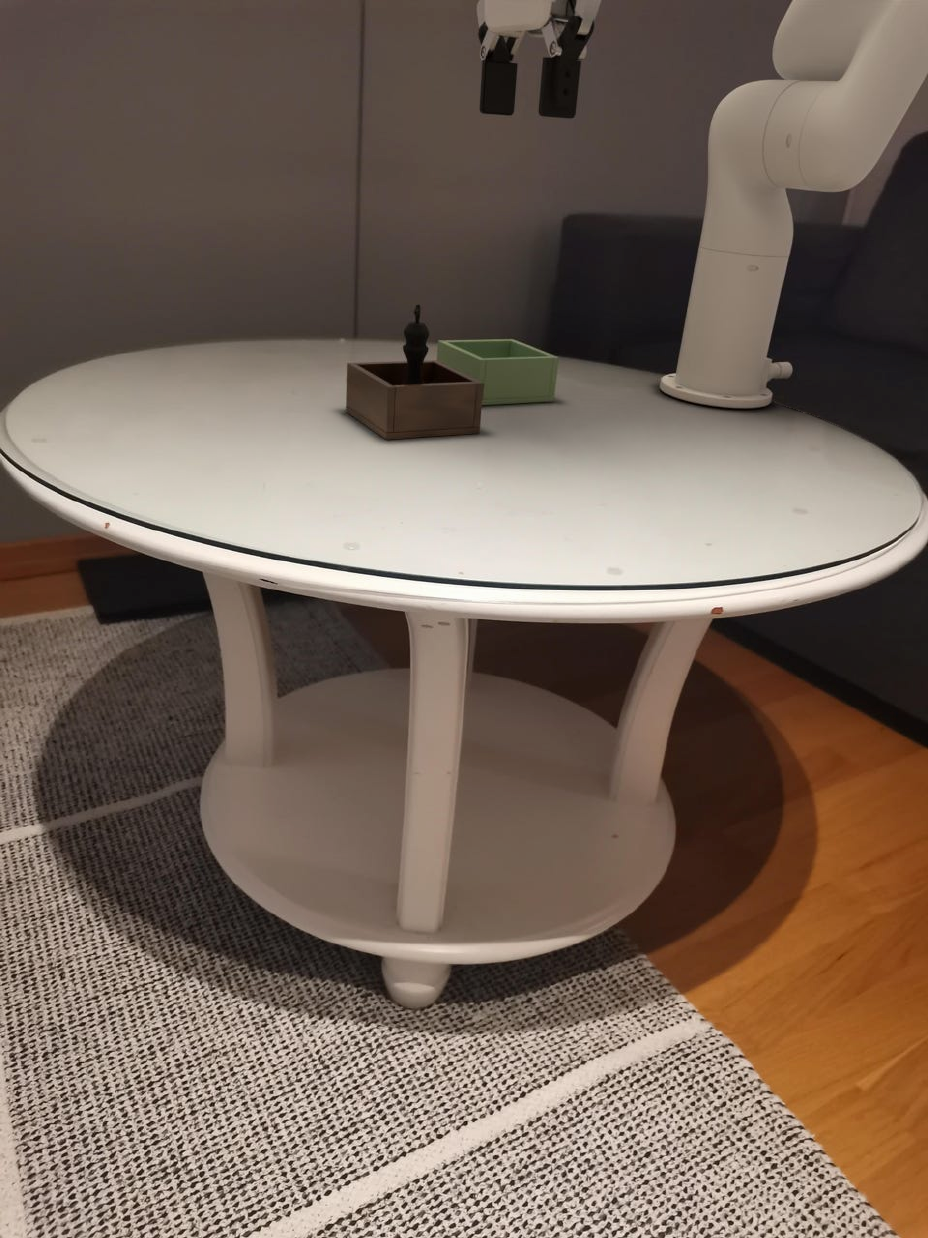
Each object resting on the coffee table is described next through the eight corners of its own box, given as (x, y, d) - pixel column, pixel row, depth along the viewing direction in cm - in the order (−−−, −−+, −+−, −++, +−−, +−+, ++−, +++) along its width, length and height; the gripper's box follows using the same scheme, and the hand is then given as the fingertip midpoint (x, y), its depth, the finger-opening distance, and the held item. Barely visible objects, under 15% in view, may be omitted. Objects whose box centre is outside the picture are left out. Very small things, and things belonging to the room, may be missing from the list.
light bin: (508, 380, 107) (512, 338, 105) (553, 401, 100) (559, 357, 98) (434, 383, 103) (437, 340, 100) (476, 405, 95) (480, 359, 93)
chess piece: (384, 419, 86) (389, 305, 81) (392, 407, 90) (397, 298, 85) (432, 424, 85) (439, 310, 81) (438, 412, 89) (446, 303, 85)
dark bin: (434, 406, 94) (437, 359, 92) (479, 433, 86) (484, 383, 84) (345, 411, 89) (346, 362, 87) (385, 439, 82) (388, 387, 80)
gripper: (657, -156, 66) (622, 121, 74) (529, -115, 79) (512, 116, 87) (566, -178, 62) (541, 115, 70) (449, -131, 76) (439, 110, 84)
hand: (525, 115), depth 79 cm, fingers open, 9 cm apart
